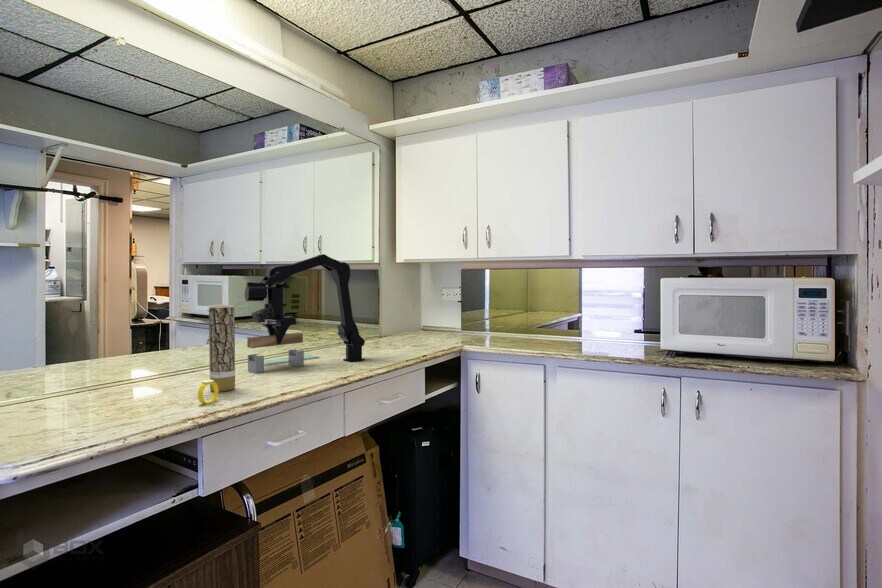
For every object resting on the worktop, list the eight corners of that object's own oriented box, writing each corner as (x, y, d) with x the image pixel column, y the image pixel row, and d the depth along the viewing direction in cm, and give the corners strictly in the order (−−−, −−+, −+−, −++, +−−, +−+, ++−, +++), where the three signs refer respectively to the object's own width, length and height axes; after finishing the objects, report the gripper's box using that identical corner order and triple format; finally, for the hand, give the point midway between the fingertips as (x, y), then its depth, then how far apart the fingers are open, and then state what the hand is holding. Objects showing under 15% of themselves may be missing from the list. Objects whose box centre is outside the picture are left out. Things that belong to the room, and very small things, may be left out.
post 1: (264, 372, 166) (263, 355, 166) (255, 373, 164) (255, 356, 164) (256, 370, 170) (255, 354, 170) (247, 371, 168) (247, 355, 167)
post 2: (303, 365, 178) (303, 350, 178) (296, 367, 176) (296, 351, 176) (295, 364, 182) (295, 349, 182) (288, 365, 180) (288, 350, 179)
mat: (319, 358, 196) (319, 356, 196) (265, 365, 178) (265, 364, 178) (307, 355, 202) (307, 354, 202) (253, 362, 184) (253, 361, 184)
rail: (302, 342, 179) (302, 333, 179) (252, 348, 164) (252, 338, 164) (297, 341, 181) (297, 332, 181) (247, 347, 166) (247, 337, 166)
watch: (204, 407, 121) (203, 384, 121) (195, 406, 122) (194, 383, 122) (221, 399, 127) (220, 378, 127) (213, 399, 128) (211, 377, 127)
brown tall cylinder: (225, 392, 135) (224, 306, 135) (204, 391, 137) (203, 305, 136) (240, 387, 142) (239, 304, 141) (220, 386, 143) (219, 304, 143)
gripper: (242, 300, 172) (242, 343, 173) (268, 302, 160) (268, 348, 160) (270, 299, 181) (271, 340, 181) (297, 301, 168) (297, 344, 169)
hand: (276, 343), depth 172 cm, fingers closed on rail, 3 cm apart
